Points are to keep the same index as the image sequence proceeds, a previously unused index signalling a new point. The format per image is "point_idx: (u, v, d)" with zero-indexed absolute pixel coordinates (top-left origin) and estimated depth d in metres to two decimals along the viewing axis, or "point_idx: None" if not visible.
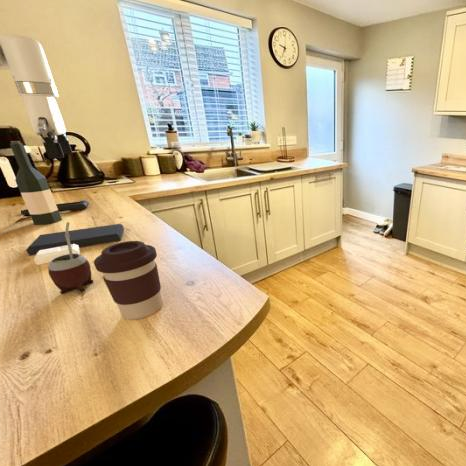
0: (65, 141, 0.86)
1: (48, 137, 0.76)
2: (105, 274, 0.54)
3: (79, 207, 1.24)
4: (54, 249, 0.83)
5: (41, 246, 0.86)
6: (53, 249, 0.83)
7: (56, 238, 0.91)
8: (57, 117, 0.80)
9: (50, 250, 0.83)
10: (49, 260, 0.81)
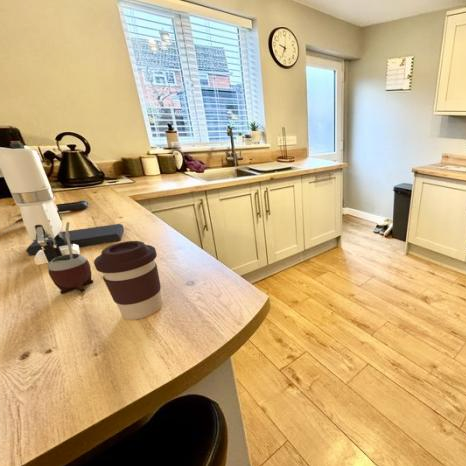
0: (61, 241, 0.86)
1: (48, 245, 0.78)
2: (105, 274, 0.54)
3: (79, 207, 1.24)
4: None
5: None
6: None
7: None
8: (53, 220, 0.80)
9: None
10: None
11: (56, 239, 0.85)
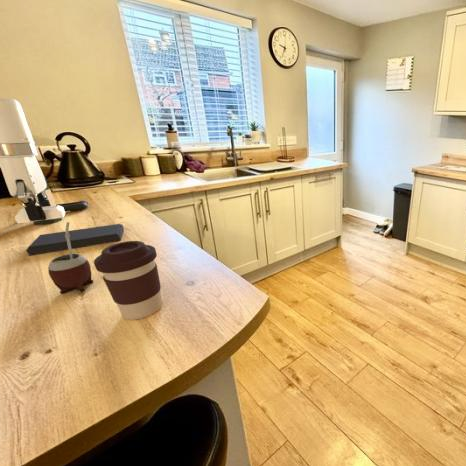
0: (45, 201, 0.82)
1: (29, 202, 0.75)
2: (105, 274, 0.54)
3: (79, 207, 1.24)
4: None
5: (41, 246, 0.86)
6: None
7: (56, 238, 0.91)
8: (36, 176, 0.76)
9: None
10: None
11: (39, 199, 0.81)
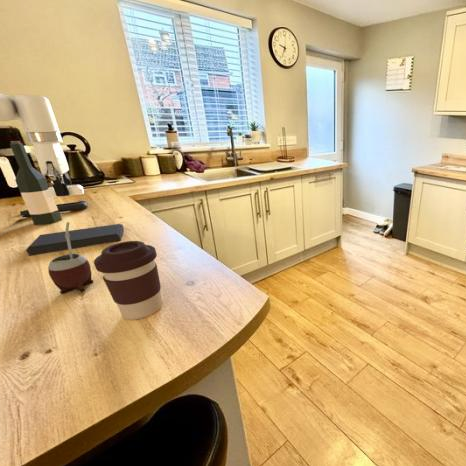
0: (68, 181, 0.99)
1: (57, 180, 0.92)
2: (105, 274, 0.54)
3: (79, 207, 1.24)
4: None
5: (41, 246, 0.86)
6: None
7: (56, 238, 0.91)
8: (61, 159, 0.93)
9: None
10: None
11: (63, 179, 0.99)
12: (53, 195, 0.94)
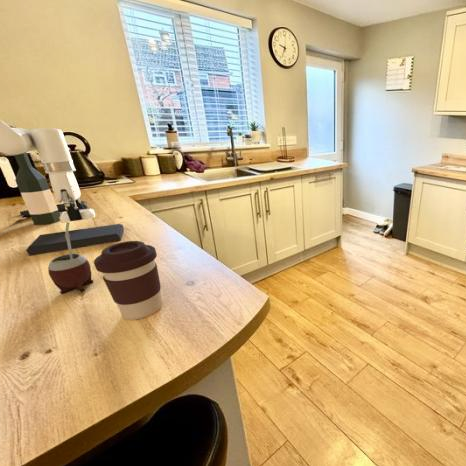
0: (80, 205, 1.05)
1: (70, 206, 0.98)
2: (105, 274, 0.54)
3: None
4: None
5: (41, 246, 0.86)
6: None
7: (56, 238, 0.91)
8: (74, 186, 0.99)
9: None
10: None
11: (76, 204, 1.04)
12: (67, 220, 1.00)
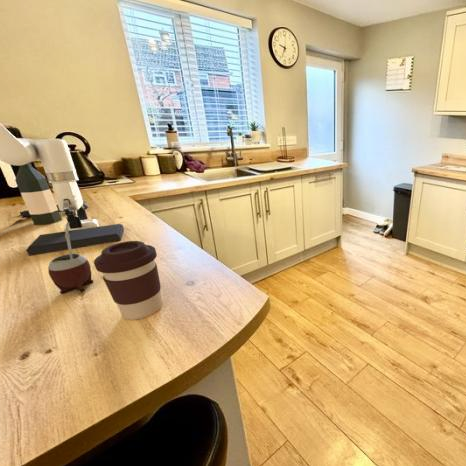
0: (82, 210, 1.07)
1: (70, 214, 0.97)
2: (105, 274, 0.54)
3: None
4: None
5: (41, 246, 0.86)
6: None
7: (56, 238, 0.91)
8: (77, 195, 1.00)
9: None
10: None
11: (78, 208, 1.07)
12: None
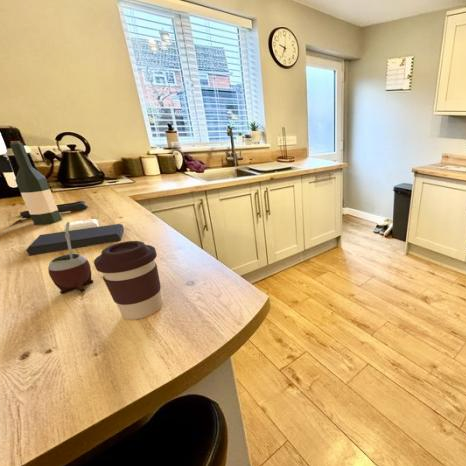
0: (6, 160, 0.92)
1: None
2: (105, 274, 0.54)
3: (80, 207, 1.24)
4: (79, 222, 1.04)
5: (41, 246, 0.86)
6: (77, 222, 1.04)
7: (56, 238, 0.91)
8: None
9: (75, 223, 1.04)
10: None
11: (1, 158, 0.91)
12: None
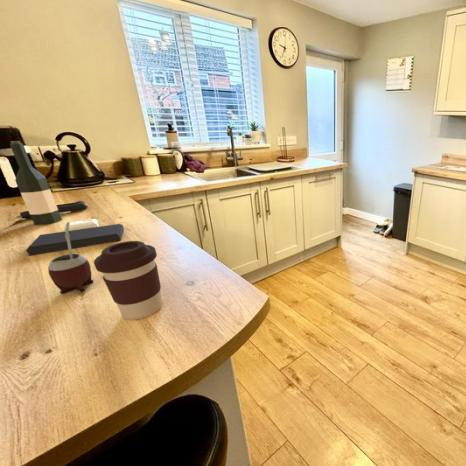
0: None
1: None
2: (105, 274, 0.54)
3: (80, 207, 1.24)
4: (79, 222, 1.04)
5: (41, 246, 0.86)
6: (77, 222, 1.04)
7: (56, 238, 0.91)
8: None
9: (75, 223, 1.04)
10: None
11: None
12: None
